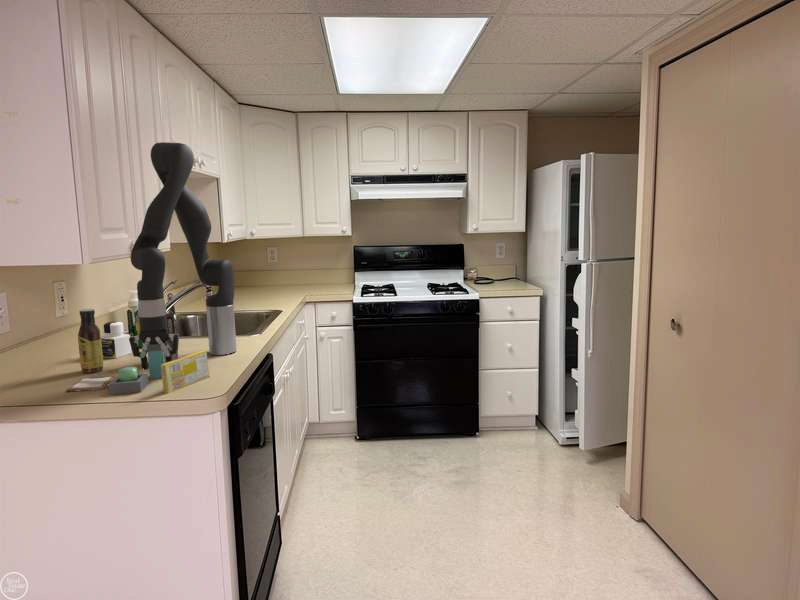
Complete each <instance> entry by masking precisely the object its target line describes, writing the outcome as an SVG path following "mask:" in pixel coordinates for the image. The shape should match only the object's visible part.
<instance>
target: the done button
mask: <svg viewBox="0 0 800 600" xmlns="http://www.w3.org/2000/svg"><path fill="white" fill-rule="evenodd" d="M138 374H139V373H138V368H137V367H136V366H127V367H126V366H125V367H122V368H119V369H118V376H119V380H120V382H127V381H137V380H138Z"/></svg>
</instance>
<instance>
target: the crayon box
mask: <svg viewBox="0 0 800 600" xmlns="http://www.w3.org/2000/svg"><path fill="white" fill-rule="evenodd" d="M135 323H136V336H138V335H139V334H140V326H139V316H138V317H137V316H136V317H135ZM137 344H138V348H139V349H141V350H142V349H143V346H144V343H143V342H142V341H141V340H140V339H139V341H138V343H137Z"/></svg>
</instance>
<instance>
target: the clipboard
mask: <svg viewBox="0 0 800 600" xmlns="http://www.w3.org/2000/svg"><path fill="white" fill-rule="evenodd" d="M116 377H117V376H114V375H113V376H106V375H94V376H89V377H87V378H85V377H84V378H80V379H79V380H77V381H76V382H75V383H73V384H72V385H70V386H69V387H68V388H67V389H65V392H66V391H75V392H77V391H76V390H89V391H97V390H96V389H102V390H104V389H105V387H106V386H107V385H108V384H109V383H110V382H111V381H112V380H114V379H115V378H116ZM108 386H109V385H108ZM108 386H107V387H108ZM107 387H106V388H107ZM93 389H95V390H93Z"/></svg>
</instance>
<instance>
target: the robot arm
mask: <svg viewBox="0 0 800 600" xmlns="http://www.w3.org/2000/svg"><path fill="white" fill-rule="evenodd" d="M150 159H151V164H152V166H153V169H154V171H155V172H156V174H157V176H158V178H159V180H160V182H161V184H162V185H163V187H162V188H161V190H160V191H159V192H158V194H157V195H156V196H155V197H154V198H153V200H151V203H149V205H148V208H147V209H146V211H145V215H144V220H143V223H142V227H141V231H140V233H139V235H138V236H137V238H136V240H135V243H134V244H133V246H132V249H131V252H130V262H131V265H132V266H133V268H135V269H137V270H139V271H141V279H140V280H139V281H138V282H137V284H136V291H137V293H136V294H137V315H138V317H139V326H140V334H139V335H138V336H137V335H130V338H129V342H130V345H131V351H132V356H133V357H138V358H140V365H141V369H143V371H148V370H149V361H148V356H147V355H148V352H147V345H149V344H161V349H162V350H163V351H164V353H165V354H166V363H167V362H170V361H172V355H173V354H176V353H177V351H178V352H179V343H180V342H179V341H180V334H179V333H178V332H176V334H170V333H169V332H168V328H167V317H166V314H167V306H166V302H165V296H164V295H165V293H164V285H163V284H164V279H165V272H166V259H165V255H164V253H163V252H162V250H160V249H159V246H160V243H162V242H164V241H165V240H166V239H167V236H168V233H169V231H170V230H169V229H170V226H171V221H172V218H173V214H174V212H175V215H176V218H177V220H178V223H179V225H180V228H181V230H182V233H183V234H184V236H185V239H186V241H187V245H188V246H189V250H190V252H191V255H192V259H193V262H194V266H195V269H196V273H197V275H198V278H199V281H200V282H201V283H202V284H203V285H204V286H208V287H218V288H217V289H218V290H217V292H216V293H215V294H212V295H210V296H207V297H206V298H205V308H206V321H207V322H206V323H207V334H208V335H207V336H208V350H209V354H210V355H212V356H223V355H224V356H225V354H227V355H231V354H230V353H232V354H234V353H236V352H237V351H236V350H237V336H236V323H235V322H236V321H235V307H234V306H235V305H234V298H235V272H234V267H233V264H232V262H231V261H230V260H228V259H212V258H210V256H209V253H208V250H207V245H208V241H209V238H210V235H211V232H212V223H211V220H210V219H211V218H210V216H209V214H208V211H207V209H206V206H205V204H204V203H203V202H202V201H201V199H199V197H197V196H196V194H195V193H194V192H193V191H192V190H191V189H190V188H189V187H188V185H187V181H188V179H189V177H190V175H191V172H192V169H193V167H194V163H195V155H194V151H193V150H192V148H191V147H190V146H189V145H188V144H185V143H182V142H181V143H180V142H167V141H166V142H165V141H164V142H163V141H162V142H161V141H160V142H156V143H154V144H153V145H152V147H151V149H150ZM169 337H170V338H171V341H173V348H172V350H170V348H169V346H168V344H167V342H166V341H167V339H168V338H169ZM139 339H140V340H141V341H142V342H143V343H144V346H143V349H142V348H141V351H140V348H138V341H139ZM235 351H236V352H235ZM233 352H234V353H233Z"/></svg>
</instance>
